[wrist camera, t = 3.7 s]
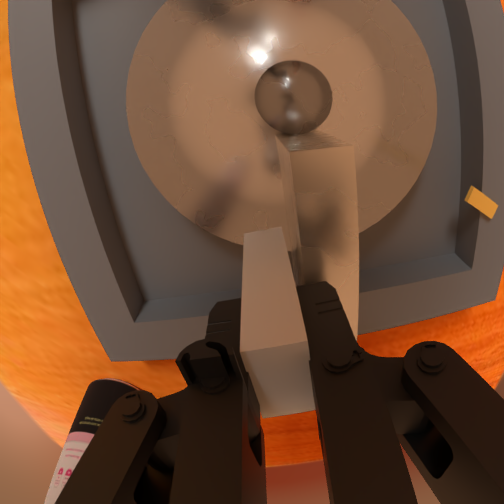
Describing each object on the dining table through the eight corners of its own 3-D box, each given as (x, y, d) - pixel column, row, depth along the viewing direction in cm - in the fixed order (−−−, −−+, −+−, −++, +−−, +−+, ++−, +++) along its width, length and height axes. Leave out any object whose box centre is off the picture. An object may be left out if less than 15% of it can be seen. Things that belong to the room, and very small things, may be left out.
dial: (122, 3, 11) (49, -40, 5) (393, -27, 10) (464, -73, 4) (182, 275, 18) (152, 365, 12) (419, 239, 17) (484, 308, 11)
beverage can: (155, 424, 27) (129, 561, 14) (93, 407, 26) (52, 535, 13) (157, 386, 24) (120, 553, 11) (85, 366, 23) (24, 517, 10)
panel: (38, -25, 10) (7, -38, 7) (441, -75, 8) (467, -91, 5) (124, 330, 21) (109, 364, 18) (472, 276, 20) (497, 302, 17)
